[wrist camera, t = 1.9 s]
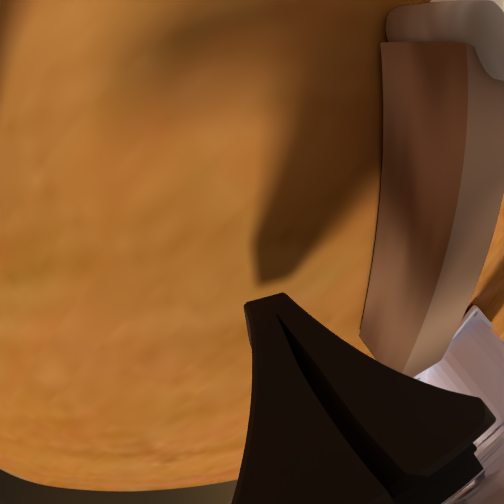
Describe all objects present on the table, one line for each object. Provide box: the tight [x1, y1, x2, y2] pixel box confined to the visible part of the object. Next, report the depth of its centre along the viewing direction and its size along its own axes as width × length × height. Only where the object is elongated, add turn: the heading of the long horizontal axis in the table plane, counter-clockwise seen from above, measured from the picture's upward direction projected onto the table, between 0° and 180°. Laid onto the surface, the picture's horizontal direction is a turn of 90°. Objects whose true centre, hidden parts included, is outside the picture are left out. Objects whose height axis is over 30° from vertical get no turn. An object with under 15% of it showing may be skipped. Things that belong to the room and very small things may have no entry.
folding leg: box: [359, 0, 504, 378], centre depth 9 cm, size 15×3×4 cm, turn 6°
